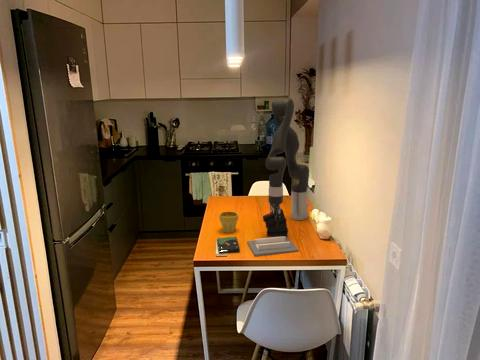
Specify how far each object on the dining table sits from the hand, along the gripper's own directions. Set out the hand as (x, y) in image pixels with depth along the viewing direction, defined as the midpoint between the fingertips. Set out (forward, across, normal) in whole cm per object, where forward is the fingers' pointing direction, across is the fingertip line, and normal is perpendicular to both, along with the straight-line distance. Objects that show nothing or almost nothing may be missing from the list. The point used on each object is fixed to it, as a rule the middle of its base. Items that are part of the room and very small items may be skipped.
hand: (275, 224), depth 199 cm
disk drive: (+7, -8, +27) cm, 29 cm away
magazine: (+7, 0, 0) cm, 7 cm away
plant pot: (+7, +13, +23) cm, 27 cm away
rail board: (+6, -14, +6) cm, 17 cm away
